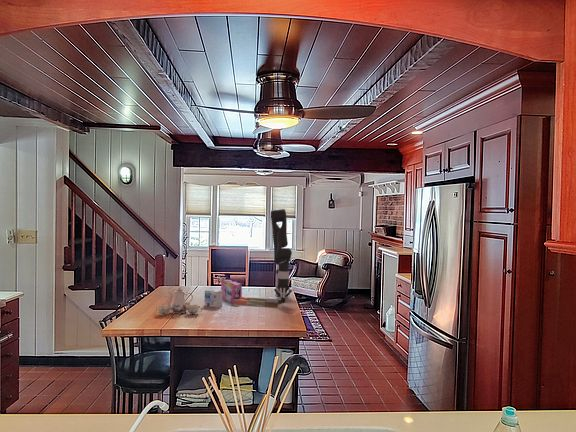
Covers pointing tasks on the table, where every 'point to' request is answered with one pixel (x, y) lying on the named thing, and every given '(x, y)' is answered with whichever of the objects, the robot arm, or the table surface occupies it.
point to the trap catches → (242, 300)
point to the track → (261, 303)
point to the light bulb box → (213, 298)
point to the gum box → (231, 289)
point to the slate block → (272, 299)
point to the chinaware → (178, 304)
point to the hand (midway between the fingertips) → (283, 302)
